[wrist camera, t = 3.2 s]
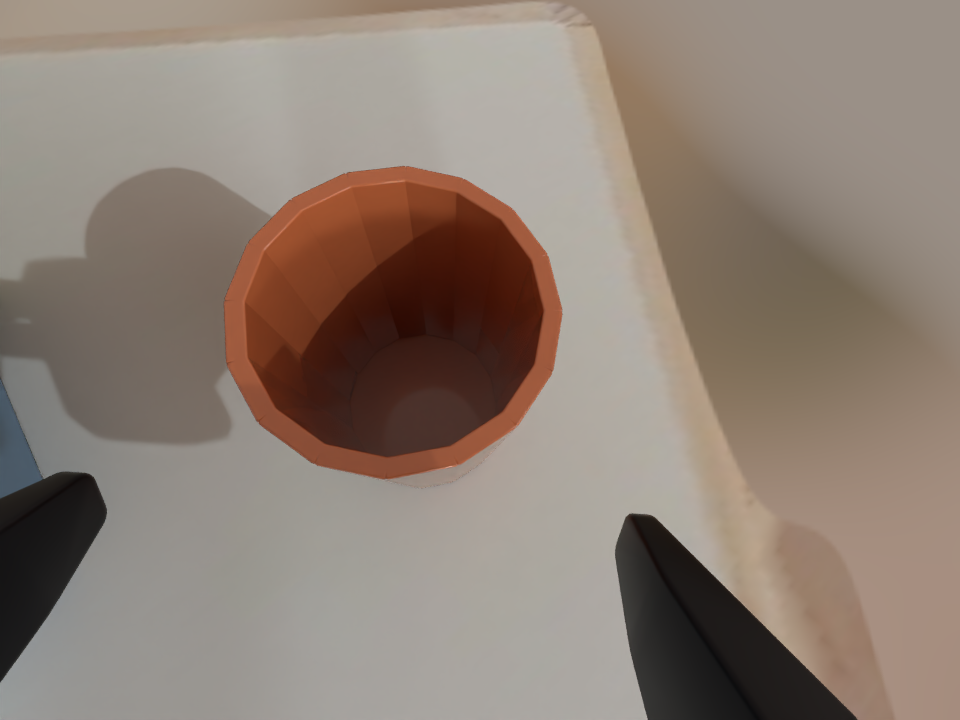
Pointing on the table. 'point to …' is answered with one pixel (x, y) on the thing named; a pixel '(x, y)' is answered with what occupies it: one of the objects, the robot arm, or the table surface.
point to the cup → (393, 324)
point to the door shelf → (14, 451)
